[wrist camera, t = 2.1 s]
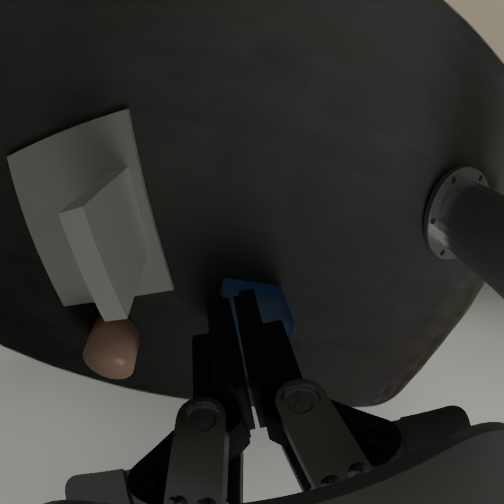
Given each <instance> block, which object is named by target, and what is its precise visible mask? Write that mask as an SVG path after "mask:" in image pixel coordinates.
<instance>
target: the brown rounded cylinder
mask: <svg viewBox="0 0 504 504" xmlns="http://www.w3.org/2000/svg"><path fill="white" fill-rule="evenodd" d="M139 341H140V332H139V329H138V328H137V326H136V325H135V324H134V323H133V322H132V321H131V320H129V319H128V318H127V319H122V320H114V321H104V319H103V317H102V315H100V316H99V317H98V318H97V319H96V320H95V323H94V325H93V328H92V330H91V333H90V335H89V338H88V340H87V343H86V346H85V348H84V351H83V358H84V361H85V362H86V364H87V365H88V366H89V367H90V368H91V369H92V370H93V371H95V372H96V373H98V374H100V375H102V376H104V377H107V378H112V379H124V378H127V377H129V376H130V375H131V374H132V373H133V370H134V365H135V360H136V355H137V351H138V346H139Z"/></svg>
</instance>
